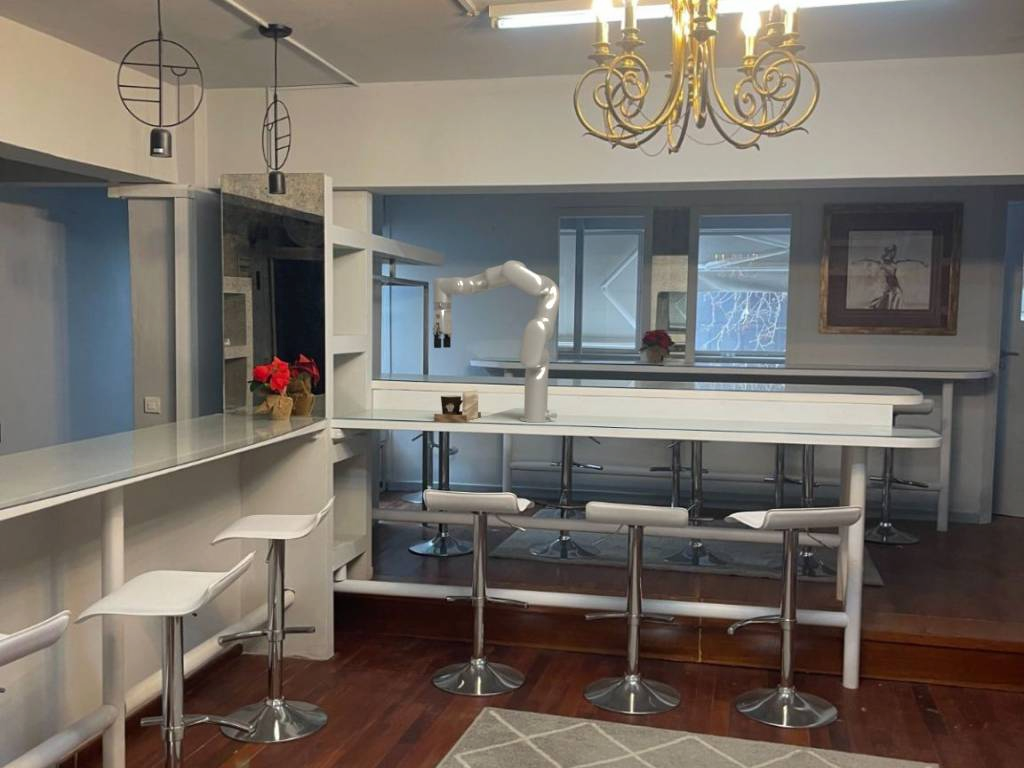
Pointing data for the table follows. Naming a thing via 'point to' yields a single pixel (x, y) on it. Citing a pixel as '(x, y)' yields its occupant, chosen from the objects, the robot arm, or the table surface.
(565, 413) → the table surface
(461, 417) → the mug holder
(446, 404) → the coffee mug
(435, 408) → the table surface
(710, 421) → the table surface
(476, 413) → the ejector plate
